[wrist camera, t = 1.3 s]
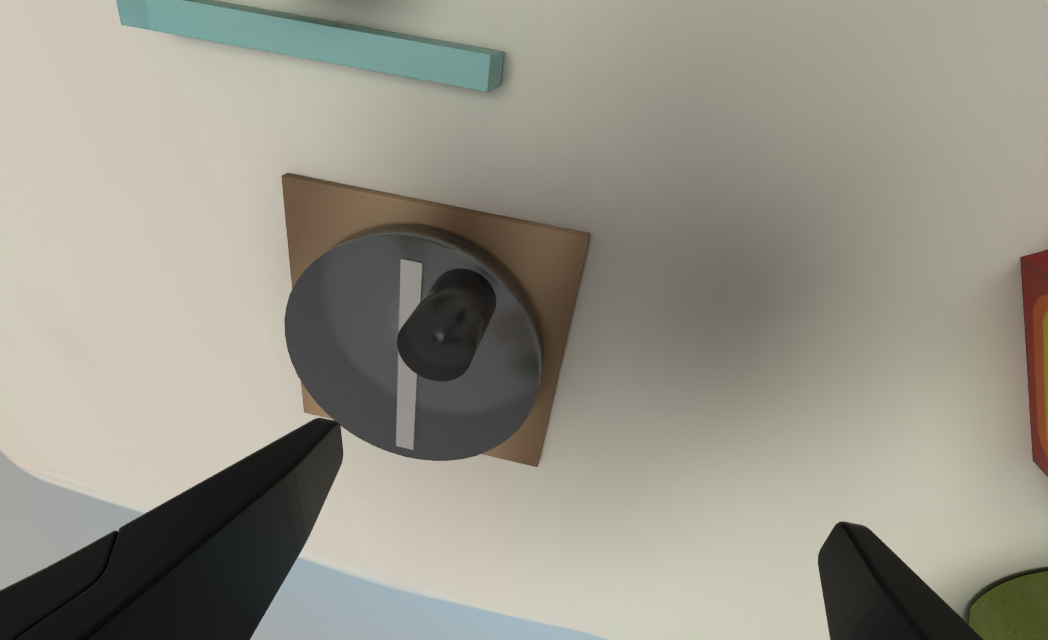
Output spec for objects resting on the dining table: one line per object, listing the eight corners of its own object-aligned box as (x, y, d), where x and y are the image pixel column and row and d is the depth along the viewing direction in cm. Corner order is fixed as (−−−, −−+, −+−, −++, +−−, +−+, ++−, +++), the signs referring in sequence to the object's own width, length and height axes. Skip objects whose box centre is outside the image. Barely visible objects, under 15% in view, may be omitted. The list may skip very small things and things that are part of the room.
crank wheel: (566, 255, 19) (549, 321, 15) (524, 459, 25) (503, 551, 20) (294, 199, 20) (203, 248, 16) (312, 409, 25) (248, 488, 21)
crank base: (590, 233, 19) (589, 237, 19) (538, 461, 26) (537, 467, 25) (287, 173, 20) (281, 175, 20) (308, 407, 26) (304, 412, 26)
